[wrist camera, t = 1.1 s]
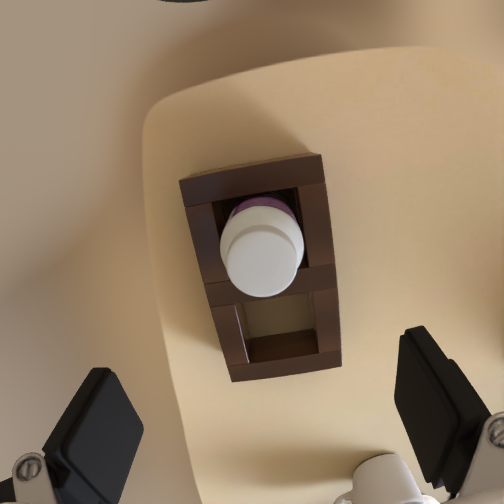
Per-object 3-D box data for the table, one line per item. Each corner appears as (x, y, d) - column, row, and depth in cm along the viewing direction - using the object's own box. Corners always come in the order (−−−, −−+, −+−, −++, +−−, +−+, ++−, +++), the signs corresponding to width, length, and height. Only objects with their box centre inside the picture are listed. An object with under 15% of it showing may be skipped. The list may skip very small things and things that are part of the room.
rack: (190, 174, 26) (178, 180, 22) (312, 152, 25) (321, 154, 21) (235, 356, 32) (231, 382, 28) (334, 341, 31) (342, 366, 27)
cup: (343, 494, 42) (351, 541, 32) (313, 476, 39) (319, 531, 30) (415, 460, 38) (432, 507, 29) (395, 438, 36) (413, 493, 27)
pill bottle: (222, 197, 26) (201, 228, 17) (286, 183, 26) (300, 207, 17) (238, 258, 28) (226, 315, 19) (299, 245, 28) (316, 298, 18)
